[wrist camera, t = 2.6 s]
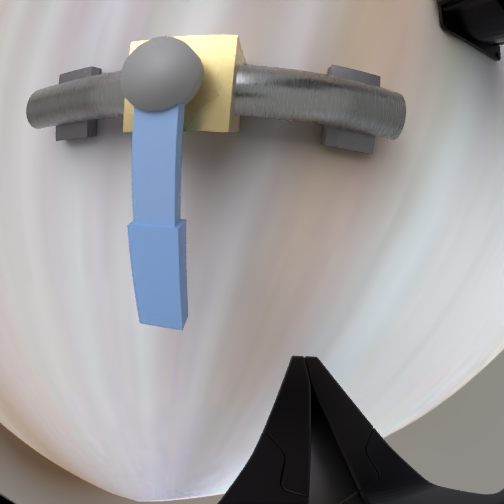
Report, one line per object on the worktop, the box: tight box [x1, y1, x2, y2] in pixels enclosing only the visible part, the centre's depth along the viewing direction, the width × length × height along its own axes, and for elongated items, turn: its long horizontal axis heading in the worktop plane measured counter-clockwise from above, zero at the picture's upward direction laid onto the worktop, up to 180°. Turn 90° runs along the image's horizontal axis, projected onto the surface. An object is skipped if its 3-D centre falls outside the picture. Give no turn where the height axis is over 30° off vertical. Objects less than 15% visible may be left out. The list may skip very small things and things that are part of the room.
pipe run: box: [26, 35, 406, 154], centre depth 12 cm, size 22×5×6 cm, turn 85°
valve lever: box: [120, 36, 204, 330], centre depth 11 cm, size 12×3×1 cm, turn 175°
